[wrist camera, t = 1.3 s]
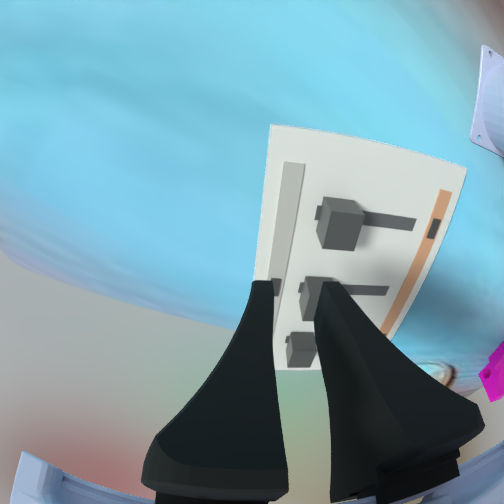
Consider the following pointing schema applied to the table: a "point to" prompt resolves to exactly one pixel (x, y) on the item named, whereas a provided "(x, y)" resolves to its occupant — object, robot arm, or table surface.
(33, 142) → the table surface
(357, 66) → the table surface
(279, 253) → the switch panel
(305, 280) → the tab
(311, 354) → the tab
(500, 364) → the toy block
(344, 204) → the tab
